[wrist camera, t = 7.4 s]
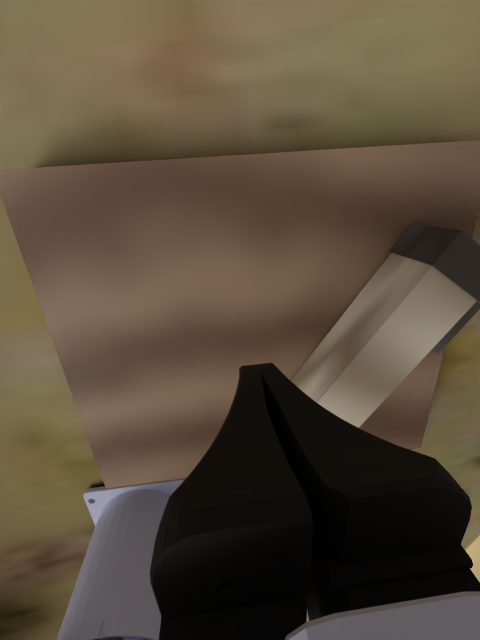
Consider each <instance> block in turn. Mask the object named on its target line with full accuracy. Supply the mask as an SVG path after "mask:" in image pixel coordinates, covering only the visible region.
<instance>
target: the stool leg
mask: <svg viewBox="0 0 480 640" xmlns="http://www.w3.org/2000/svg"><path fill="white" fill-rule="evenodd" d="M389 252H391V254H390V255H389V256H388V258H387V259H386V260H385V261H384V263H383V264H382V265H381V267H380V268H379V269H378V270H377V272H376V273H375V274H374V275H373V277H372V278H371V279H370V281H369V282H368V283H367V284H366V286H365V287H364V288H363V289H362V291H361V292H360V293H359V295H358V296H357V297H356V298H355V300H354V301H353V302H352V304H351V305H350V306H349V307H348V309H347V310H346V311H345V312H344V314H343V315H342V316H341V318H340V319H339V320H338V321H337V323H336V324H335V325H334V326H333V328H332V329H331V330H330V332H329V333H328V334H327V335H326V337H325V338H324V339H323V341H322V342H321V343H320V344H319V346H318V347H317V348H316V349H315V351H314V352H313V353H312V355H311V356H310V357H309V358H308V360H307V361H306V362H305V363H304V365H303V366H302V367H301V369H300V370H299V371H298V372H297V374H296V375H295V376H294V378H293V379H292V380H291V382H293V383H294V384H295V385H296V386H297V387H298V388H299V389H300V390H302V391H303V392H304V393H305V394H306V395H308V396H309V397H310V398H311V399H313V400H314V401H315V402H317V403H318V404H319V405H321V406H322V407H324V408H325V409H327V410H328V411H330V412H332V413H333V414H335V415H336V416H338V417H340V418H341V419H343V420H345V421H347V422H348V423H350V424H352V425H354V426H356V427H358V428H359V427H360V426H361V425H362V424H363V423H364V422H365V421H366V419H367V418H368V417H369V416H370V415H371V414H372V413H373V412H374V411H375V410H376V409H377V408H378V407H379V406H380V404H381V403H382V402H383V401H384V400H385V399H386V398H387V397H388V396H389V395H390V394H391V393H392V392H393V390H394V389H395V388H396V387H397V386H398V385H399V384H400V383H401V382H402V381H403V380H404V379H405V378H406V377H407V375H408V374H409V373H410V372H411V371H412V370H413V369H414V368H415V367H416V366H417V365H418V364H419V363H420V361H421V360H422V359H423V358H424V357H425V356H426V355H427V354H428V353H429V352H430V351H431V350H432V349H433V348H434V346H435V345H436V344H437V343H438V342H439V341H440V340H441V339H442V338H443V337H444V336H445V335H446V334H447V332H448V331H449V330H450V329H451V328H452V327H453V326H454V325H455V324H456V323H457V322H458V321H459V320H460V319H461V317H462V316H463V315H464V314H465V313H466V312H467V311H468V310H469V309H470V308H471V307H472V306H473V305H474V303H475V302H476V301H479V302H480V246H479V245H478V244H477V243H476V242H475V241H474V240H473V239H471V238H470V237H469V236H468V235H467V234H466V233H464V232H463V231H462V230H456V229H449V228H442V227H435V226H428V225H421V224H414V223H411V224H410V225H409V226H408V227H407V229H406V230H405V231H404V233H403V234H402V235H401V236H400V238H399V239H398V240H397V242H396V243H395V244H394V245H393V247H392V248H391V249H390V250H389Z"/></svg>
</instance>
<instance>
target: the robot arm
mask: <svg viewBox="0 0 480 640" xmlns="http://www.w3.org/2000/svg"><path fill="white" fill-rule="evenodd" d="M83 497H84V500H85V502H86V505H87V507H88V509H89V512H90V514H91V517H92V519H93V522H94V524H95V529H94V532H93V535H92V538H91V541H90V544H89V546H88V549H87V552H86V555H85V558H84V561H83V564H82V567H81V570H80V573H79V576H78V579H77V581H76V584H75V587H74V590H73V593H72V596H71V599H70V602H69V605H68V608H67V611H66V614H65V617H64V619H63V622H62V625H61V628H60V631H59V634H58V637H57V640H480V582H479V581H478V580H477V578H476V577H475V575H474V574H473V573H472V571H471V570H470V568H472V566H473V563H472V560H471V558H470V557H469V555H468V554H467V553H466V551H465V550H464V548H463V547H462V546H461V542H462V539H463V536H464V534H465V531H466V528H467V526H468V523H469V520H470V515H471V509H472V506H471V502H470V498H469V496H468V495H467V494H466V493H465V492H464V490H463V489H462V488H461V487H460V486H459V484H458V483H457V482H456V481H455V480H454V478H453V477H452V476H451V475H450V474H449V473H448V472H447V470H446V469H445V468H444V467H443V466H442V465H441V464H440V463H439V462H438V461H437V460H436V459H435V458H432V457H429V456H426V455H423V454H420V453H417V452H415V451H412V450H409V449H406V448H403V447H400V446H398V445H395V444H393V443H390V442H388V441H386V440H383V439H381V438H379V437H376V436H374V435H372V434H370V433H368V432H366V431H364V430H362V429H360V428H358V427H356V426H354V425H352V424H350V423H348V422H347V421H345V420H343V419H341V418H340V417H338V416H336V415H335V414H333V413H332V412H330V411H328V410H327V409H325V408H324V407H322V406H321V405H319V404H318V403H317V402H315V401H314V400H313V399H311V398H310V397H309V396H308V395H306V394H305V393H304V392H303V391H302V390H300V389H299V388H298V387H297V386H296V385H295V384H294V383H293V382H291V381H290V380H289V379H288V378H287V377H286V376H285V375H284V374H283V373H282V372H281V371H280V370H279V369H278V368H277V367H276V366H275V365H274V364H273V363H264V364H255V365H245V366H241V367H240V368H239V381H238V386H237V389H236V393H235V396H234V399H233V402H232V405H231V407H230V410H229V413H228V415H227V417H226V419H225V421H224V423H223V425H222V427H221V429H220V431H219V433H218V434H217V436H216V438H215V440H214V441H213V443H212V444H211V446H210V448H209V449H208V451H207V452H206V453H205V455H204V456H203V457H202V459H201V460H200V461H199V463H198V464H197V466H196V467H195V468H194V470H193V471H192V472H191V473H190V474H189V476H188V477H187V478H182V479H175V480H167V481H159V482H151V483H144V484H136V485H128V486H121V487H113V488H105V486H103V487H95V488H89V489H87V490H86V491H85V493H84V495H83ZM307 611H308V616H309V621H308V622H306V616H307Z"/></svg>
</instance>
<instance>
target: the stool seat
mask: <svg viewBox="0 0 480 640" xmlns="http://www.w3.org/2000/svg"><path fill="white" fill-rule="evenodd" d="M0 194H1V197H2V200H3V203H4V205H5V208H6V211H7V214H8V217H9V219H10V222H11V225H12V228H13V231H14V233H15V236H16V239H17V242H18V245H19V247H20V250H21V253H22V256H23V259H24V261H25V264H26V267H27V270H28V272H29V275H30V278H31V281H32V284H33V286H34V289H35V292H36V295H37V298H38V300H39V303H40V306H41V309H42V312H43V314H44V317H45V320H46V323H47V326H48V328H49V331H50V334H51V337H52V340H53V342H54V345H55V348H56V351H57V353H58V356H59V359H60V362H61V365H62V367H63V370H64V373H65V376H66V379H67V381H68V384H69V387H70V390H71V393H72V395H73V398H74V401H75V404H76V407H77V409H78V412H79V415H80V418H81V421H82V423H83V426H84V429H85V432H86V434H87V437H88V440H89V443H90V446H91V448H92V451H93V454H94V457H95V460H96V462H97V465H98V468H99V471H100V474H101V476H102V479H103V482H104V485H105V488H113V487H121V486H128V485H136V484H144V483H151V482H159V481H167V480H175V479H182V478H187V477H188V476H189V474H190V473H191V472H192V471H193V470H194V468H195V467H196V466H197V464H198V463H199V461H200V460H201V459H202V457H203V456H204V455H205V453H206V452H207V451H208V449H209V448H210V446H211V444H212V443H213V441H214V440H215V438H216V436H217V434H218V433H219V431H220V429H221V427H222V425H223V423H224V421H225V419H226V417H227V415H228V413H229V410H230V407H231V405H232V402H233V399H234V396H235V393H236V389H237V386H238V381H239V368H240V367H241V366H245V365H255V364H264V363H273V364H274V365H275V366H276V367H277V368H278V369H279V370H280V371H281V372H282V373H283V374H284V375H285V376H286V377H287V378H288V379H289V380H290V381H291V380H292V379H293V378H294V376H295V375H296V374H297V372H298V371H299V370H300V369H301V367H302V366H303V365H304V363H305V362H306V361H307V360H308V358H309V357H310V356H311V355H312V353H313V352H314V351H315V349H316V348H317V347H318V346H319V344H320V343H321V342H322V341H323V339H324V338H325V337H326V335H327V334H328V333H329V332H330V330H331V329H332V328H333V326H334V325H335V324H336V323H337V321H338V320H339V319H340V318H341V316H342V315H343V314H344V312H345V311H346V310H347V309H348V307H349V306H350V305H351V304H352V302H353V301H354V300H355V298H356V297H357V296H358V295H359V293H360V292H361V291H362V289H363V288H364V287H365V286H366V284H367V283H368V282H369V281H370V279H371V278H372V277H373V275H374V274H375V273H376V272H377V270H378V269H379V268H380V267H381V265H382V264H383V263H384V261H385V260H386V259H387V258H388V256H389V255H390V254H391V252H389V250H390V249H391V248H392V247H393V245H394V244H395V243H396V242H397V240H398V239H399V238H400V236H401V235H402V234H403V233H404V231H405V230H406V229H407V227H408V226H409V225H410V224H411V223H414V224H421V225H428V226H435V227H442V228H449V229H456V230H462V231H463V232H464V233H466V234H467V235H468V236H469V237H470V238H471V239H472V235H473V230H474V226H475V222H476V218H477V214H478V210H479V206H480V140H471V141H455V142H439V143H423V144H407V145H391V146H375V147H359V148H343V149H327V150H311V151H295V152H278V153H262V154H246V155H230V156H214V157H198V158H182V159H166V160H150V161H134V162H118V163H102V164H86V165H70V166H54V167H38V168H22V169H6V170H0ZM479 309H480V303H479V302H477V301H476V302H475V303H474V305H473V306H472V307H471V308H470V309H469V310H468V311H467V312H466V313H465V314H464V315H463V316H462V317H461V319H460V320H459V321H458V322H457V323H456V324H455V325H454V326H453V327H452V328H451V329H450V330H449V331H448V332H447V334H446V335H445V336H444V337H443V338H442V339H441V340H440V341H439V342H438V343H437V344H436V345H435V346H434V348H433V349H432V350H431V351H430V352H429V353H428V354H427V355H426V356H425V357H424V358H423V359H422V360H421V361H420V363H419V364H418V365H417V366H416V367H415V368H414V369H413V370H412V371H411V372H410V373H409V374H408V375H407V377H406V378H405V379H404V380H403V381H402V382H401V383H400V384H399V385H398V386H397V387H396V388H395V389H394V390H393V392H392V393H391V394H390V395H389V396H388V397H387V398H386V399H385V400H384V401H383V402H382V403H381V404H380V406H379V407H378V408H377V409H376V410H375V411H374V412H373V413H372V414H371V415H370V416H369V417H368V418H367V419H366V421H365V422H364V423H363V424H362V425H361V426H360V427H359V428H360V429H362V430H364V431H366V432H368V433H370V434H372V435H374V436H376V437H379V438H381V439H383V440H386V441H388V442H390V443H393V444H395V445H398V446H400V447H403V448H406V449H414V448H421V444H422V440H423V436H424V432H425V428H426V424H427V419H428V415H429V411H430V407H431V403H432V399H433V395H434V391H435V387H436V382H437V378H438V374H439V370H440V366H441V362H442V358H443V354H444V350H445V346H446V345H447V343H448V342H449V341H450V340H451V339H452V338H453V337H454V336H455V335H456V334H457V333H458V332H459V330H460V329H461V328H462V327H463V326H464V325H465V324H466V323H467V322H468V321H469V320H470V319H471V318H472V316H473V315H474V314H475V313H476V312H477V311H478V310H479Z"/></svg>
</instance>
